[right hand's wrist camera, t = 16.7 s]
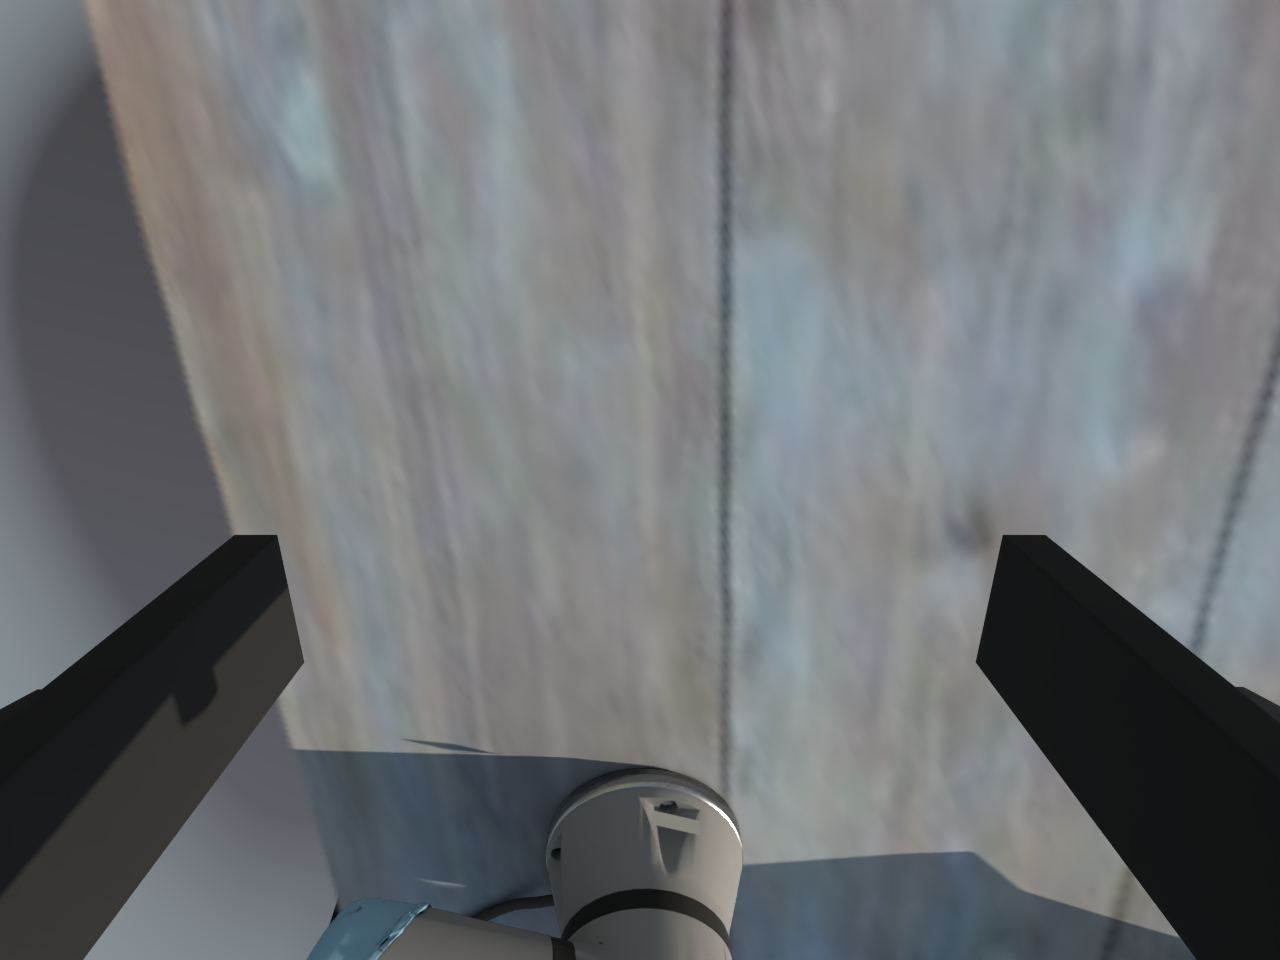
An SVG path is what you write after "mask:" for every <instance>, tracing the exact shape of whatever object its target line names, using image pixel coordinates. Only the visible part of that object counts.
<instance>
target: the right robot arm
mask: <svg viewBox="0 0 1280 960" xmlns="http://www.w3.org/2000/svg"><path fill="white" fill-rule="evenodd" d="M303 663H304V659H303V654H302V650H301V645H300V640H299V636H298V631H297V626H296V622H295V617H294V612H293V607H292V603H291V598H290V593H289V589H288V584H287V579H286V575H285V570H284V565H283V560H282V556H281V551H280V546H279V542H278V537H277V535H234V536H233V537H232V538H230V539H229V540H228V541H227V542H225V543H224V544H223V545H222V546H220V547H219V548H218V549H217V550H215V551H214V552H213V553H212V554H210V555H209V556H208V557H207V558H205V559H204V560H203V561H202V562H201V563H199V564H198V565H197V566H195V567H194V568H193V569H192V570H190V571H189V572H188V573H187V574H186V575H184V576H183V577H182V578H180V579H179V580H178V581H177V582H175V583H174V584H173V585H172V586H170V587H169V588H168V589H167V590H166V591H164V592H163V593H162V594H160V595H159V596H158V597H157V598H155V599H154V600H153V601H152V602H151V603H149V604H148V605H147V606H145V607H144V608H143V609H142V610H141V611H139V612H138V613H137V614H135V615H134V616H133V617H132V618H130V619H129V620H128V621H127V622H125V623H124V624H123V625H122V626H120V627H119V628H118V629H117V630H116V631H114V632H113V633H112V634H110V635H109V636H108V637H107V638H106V639H104V640H103V641H102V642H101V643H99V644H98V645H97V646H95V647H94V648H93V649H92V650H91V651H89V652H88V653H87V654H86V655H84V656H83V657H82V658H80V659H79V660H78V661H77V662H75V663H74V664H73V665H72V666H71V667H69V668H68V669H67V670H66V671H64V672H63V673H62V674H61V675H59V676H58V677H57V678H56V679H54V680H53V681H52V682H51V683H49V684H48V685H47V686H46V687H44V688H43V689H42V690H36V691H34V692H32V693H30V694H28V695H26V696H24V697H22V698H21V699H19V700H17V701H15V702H13V703H11V704H9V705H8V706H6V707H4V708H2V709H0V960H83V959H84V958H85V956H86V955H87V954H88V952H89V951H90V950H91V948H92V947H93V946H94V944H95V943H96V942H97V940H98V939H99V938H100V936H101V935H102V934H103V932H104V931H105V930H106V928H107V927H108V926H109V924H110V923H111V921H112V920H113V919H114V917H115V916H116V915H117V913H118V912H119V911H120V909H121V908H122V907H123V905H124V904H125V903H126V901H127V900H128V899H129V897H130V896H131V895H132V893H133V892H134V891H135V889H136V888H137V887H138V885H139V884H140V882H141V881H142V880H143V878H144V877H145V876H146V874H147V873H148V872H149V870H150V869H151V868H152V866H153V865H154V864H155V862H156V861H157V860H158V858H159V857H160V856H161V854H162V853H163V852H164V850H165V849H166V847H167V846H168V845H169V843H170V842H171V841H172V839H173V838H174V837H175V835H176V834H177V833H178V831H179V830H180V829H181V827H182V826H183V824H184V823H185V822H186V821H187V819H188V818H189V817H190V815H191V814H192V812H193V811H194V810H195V808H196V807H197V806H198V804H199V803H200V802H201V800H202V799H203V798H204V796H205V795H206V794H207V792H208V791H209V790H210V788H211V787H212V786H213V784H214V783H215V782H216V780H217V779H218V778H219V776H220V775H221V774H222V772H223V771H224V769H225V768H226V767H227V765H228V764H229V763H230V761H231V760H232V759H233V757H234V756H235V755H236V753H237V752H238V751H239V749H240V748H241V747H242V745H243V744H244V743H245V741H246V740H247V739H248V737H249V736H250V734H251V733H252V732H253V730H254V729H255V728H256V726H257V725H258V724H259V722H260V721H261V720H262V718H263V717H264V716H265V714H266V713H267V712H268V710H269V709H270V708H271V706H272V705H273V704H274V702H275V701H276V700H277V698H278V697H279V696H280V694H281V693H282V691H283V690H284V689H285V687H286V686H287V685H288V683H289V682H290V681H291V679H292V678H293V677H294V675H295V674H296V673H297V671H298V670H299V669H300V667H301V666H302V665H303ZM976 663H977V665H978V666H979V667H980V669H981V670H982V671H983V673H984V674H985V675H986V677H987V678H988V679H989V681H990V682H991V683H992V685H993V686H994V687H995V689H996V690H997V691H998V693H999V694H1000V696H1001V697H1002V698H1003V700H1004V701H1005V702H1006V704H1007V705H1008V706H1009V708H1010V709H1011V710H1012V712H1013V713H1014V714H1015V716H1016V717H1017V718H1018V720H1019V721H1020V722H1021V724H1022V725H1023V726H1024V728H1025V729H1026V730H1027V732H1028V733H1029V735H1030V736H1031V737H1032V739H1033V740H1034V741H1035V743H1036V744H1037V745H1038V747H1039V748H1040V749H1041V751H1042V752H1043V753H1044V755H1045V756H1046V757H1047V759H1048V760H1049V761H1050V763H1051V764H1052V765H1053V767H1054V768H1055V769H1056V771H1057V772H1058V774H1059V775H1060V776H1061V778H1062V779H1063V780H1064V782H1065V783H1066V784H1067V786H1068V787H1069V788H1070V790H1071V791H1072V792H1073V794H1074V795H1075V796H1076V798H1077V799H1078V800H1079V802H1080V803H1081V804H1082V806H1083V807H1084V808H1085V810H1086V811H1087V813H1088V814H1089V815H1090V817H1091V818H1092V819H1093V821H1094V822H1095V823H1096V825H1097V826H1098V827H1099V829H1100V830H1101V831H1102V833H1103V834H1104V835H1105V837H1106V838H1107V839H1108V841H1109V842H1110V843H1111V845H1112V846H1113V848H1114V849H1115V850H1116V852H1117V853H1118V854H1119V856H1120V857H1121V858H1122V860H1123V861H1124V862H1125V864H1126V865H1127V866H1128V868H1129V869H1130V870H1131V872H1132V873H1133V874H1134V876H1135V877H1136V878H1137V880H1138V881H1139V882H1140V884H1141V885H1142V887H1143V888H1144V889H1145V891H1146V892H1147V893H1148V895H1149V896H1150V897H1151V899H1152V900H1153V901H1154V903H1155V904H1156V905H1157V907H1158V908H1159V909H1160V911H1161V912H1162V913H1163V915H1164V916H1165V917H1166V919H1167V920H1168V921H1169V923H1170V924H1171V926H1172V927H1173V928H1174V930H1175V931H1176V932H1177V934H1178V935H1179V936H1180V938H1181V939H1182V940H1183V942H1184V943H1185V944H1186V946H1187V947H1188V948H1189V950H1190V951H1191V952H1192V954H1193V955H1194V956H1195V958H1196V959H1197V960H1280V706H1278V705H1276V704H1274V703H1273V702H1271V701H1269V700H1267V699H1265V698H1263V697H1261V696H1259V695H1258V694H1256V693H1254V692H1252V691H1250V690H1248V689H1246V688H1244V687H1234V686H1233V685H1232V684H1231V683H1229V682H1228V681H1227V680H1226V679H1224V678H1223V677H1222V676H1221V675H1219V674H1218V673H1217V672H1216V671H1214V670H1213V669H1212V668H1211V667H1209V666H1208V665H1207V664H1206V663H1204V662H1203V661H1202V660H1201V659H1200V658H1198V657H1197V656H1196V655H1195V654H1193V653H1192V652H1191V651H1190V650H1188V649H1187V648H1186V647H1185V646H1183V645H1182V644H1181V643H1180V642H1178V641H1177V640H1176V639H1175V638H1173V637H1172V636H1171V635H1170V634H1168V633H1167V632H1166V631H1165V630H1163V629H1162V628H1161V627H1160V626H1158V625H1157V624H1156V623H1155V622H1153V621H1152V620H1151V619H1150V618H1148V617H1147V616H1146V615H1145V614H1143V613H1142V612H1141V611H1140V610H1138V609H1137V608H1136V607H1135V606H1133V605H1132V604H1131V603H1130V602H1128V601H1127V600H1126V599H1125V598H1123V597H1122V596H1121V595H1120V594H1118V593H1117V592H1116V591H1115V590H1113V589H1112V588H1111V587H1110V586H1108V585H1107V584H1106V583H1105V582H1103V581H1102V580H1101V579H1100V578H1098V577H1097V576H1096V575H1095V574H1093V573H1092V572H1091V571H1090V570H1088V569H1087V568H1086V567H1085V566H1083V565H1082V564H1081V563H1080V562H1078V561H1077V560H1076V559H1075V558H1073V557H1072V556H1071V555H1070V554H1068V553H1067V552H1066V551H1065V550H1063V549H1062V548H1061V547H1060V546H1058V545H1057V544H1056V543H1055V542H1053V541H1052V540H1051V539H1050V538H1048V537H1047V536H1046V535H1003V537H1002V542H1001V546H1000V551H999V556H998V560H997V565H996V570H995V575H994V579H993V584H992V589H991V593H990V598H989V603H988V607H987V612H986V617H985V622H984V626H983V631H982V636H981V640H980V645H979V650H978V654H977V659H976ZM546 865H547V871H548V876H549V881H550V885H551V890H552V895H545V896H539V897H527V898H518V899H513V900H509V901H506V902H503V903H501V904H498V905H495V906H493V907H491V908H489V909H486V910H484V911H482V912H480V913H478V914H476V915H474V916H473V917H467V916H463V915H459V914H455V913H451V912H447V911H443V910H439V909H435V908H432V906H431V905H430V904H427V903H421V904H418V905H415V904H408V903H402V902H395V901H389V900H384V899H379V898H366V899H362V900H359V901H356V902H354V903H352V904H351V905H349V906H348V907H346V908H345V909H344V910H343V911H342V912H340V909H339V905H338V902H337V903H336V906H335V909H334V912H333V915H332V918H331V921H330V924H329V927H328V928H327V929H326V931H325V932H324V933H323V935H322V936H321V938H320V939H319V941H318V942H317V944H316V945H315V947H314V948H313V950H312V952H311V953H310V955H309V957H308V958H307V960H732V956H731V947H730V938H729V931H730V926H731V922H732V917H733V912H734V907H735V902H736V897H737V891H738V886H739V881H740V877H741V872H742V867H743V850H742V843H741V837H740V831H739V826H738V823H737V820H736V818H735V815H734V813H733V812H732V810H731V808H730V807H729V806H728V804H727V803H726V802H725V801H724V800H723V799H722V798H721V797H720V796H719V795H718V794H717V793H716V792H715V791H714V790H712V789H711V788H709V787H708V786H706V785H705V784H703V783H701V782H699V781H697V780H695V779H693V778H691V777H688V776H685V775H682V774H679V773H675V772H671V771H665V770H657V769H631V770H624V771H619V772H614V773H610V774H607V775H604V776H601V777H599V778H596V779H594V780H592V781H590V782H588V783H586V784H585V785H583V786H581V787H580V788H578V789H577V790H576V791H574V792H573V793H572V794H571V795H570V796H569V797H568V798H567V799H566V800H565V801H564V802H563V803H562V804H561V806H560V807H559V809H558V810H557V812H556V814H555V816H554V818H553V820H552V823H551V826H550V831H549V837H548V844H547V851H546ZM554 905H555V909H556V913H557V918H558V923H559V927H560V932H561V939H559V938H555V937H551V936H549V935H544V934H540V933H536V932H531V931H527V930H522V929H518V928H514V927H509V926H505V925H500V924H496V923H492V922H487V921H488V920H490V919H492V918H495V917H497V916H499V915H502V914H505V913H508V912H511V911H514V910H518V909H532V908H541V907H547V906H554Z"/></svg>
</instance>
